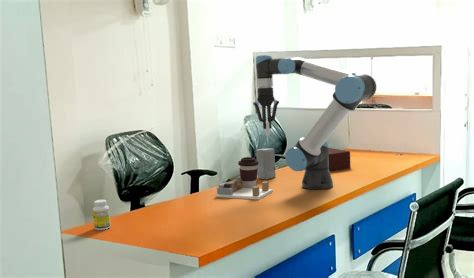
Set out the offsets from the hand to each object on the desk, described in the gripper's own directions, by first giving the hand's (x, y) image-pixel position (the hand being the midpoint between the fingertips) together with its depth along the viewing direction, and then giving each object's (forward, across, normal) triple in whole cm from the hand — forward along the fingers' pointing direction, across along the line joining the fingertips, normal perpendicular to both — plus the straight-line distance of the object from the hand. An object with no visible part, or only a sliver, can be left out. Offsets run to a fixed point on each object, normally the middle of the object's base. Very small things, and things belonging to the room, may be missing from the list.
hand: (267, 135), depth 273 cm
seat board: (+26, +15, +9) cm, 31 cm away
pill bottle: (+26, +80, +44) cm, 95 cm away
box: (+27, -46, -39) cm, 66 cm away
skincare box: (+26, -5, -25) cm, 36 cm away
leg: (+25, +19, +5) cm, 32 cm away
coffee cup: (+26, +10, -4) cm, 28 cm away
